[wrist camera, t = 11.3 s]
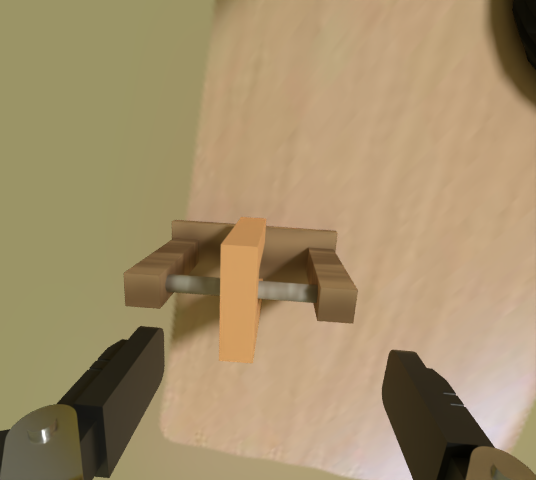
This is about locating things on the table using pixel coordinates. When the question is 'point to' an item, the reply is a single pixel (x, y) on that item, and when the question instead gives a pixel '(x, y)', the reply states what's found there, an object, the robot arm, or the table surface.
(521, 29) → the cable lock
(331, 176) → the table surface
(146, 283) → the rail
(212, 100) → the table surface
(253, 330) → the orange block
